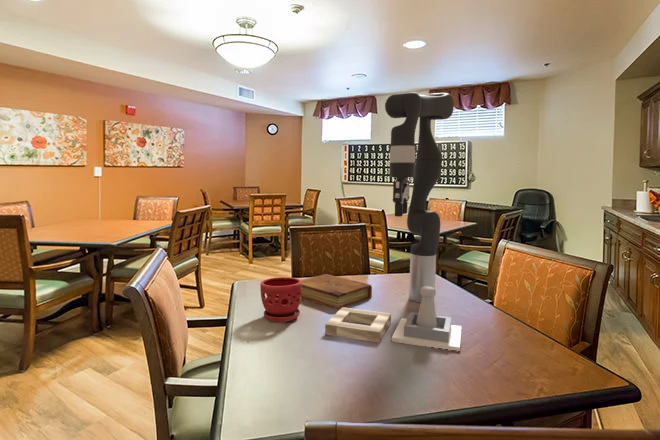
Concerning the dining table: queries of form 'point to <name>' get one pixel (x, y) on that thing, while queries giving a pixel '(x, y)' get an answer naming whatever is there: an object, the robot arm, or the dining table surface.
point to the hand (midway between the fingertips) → (401, 215)
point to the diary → (335, 291)
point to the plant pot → (281, 298)
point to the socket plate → (428, 333)
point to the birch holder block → (356, 331)
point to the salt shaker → (427, 308)
